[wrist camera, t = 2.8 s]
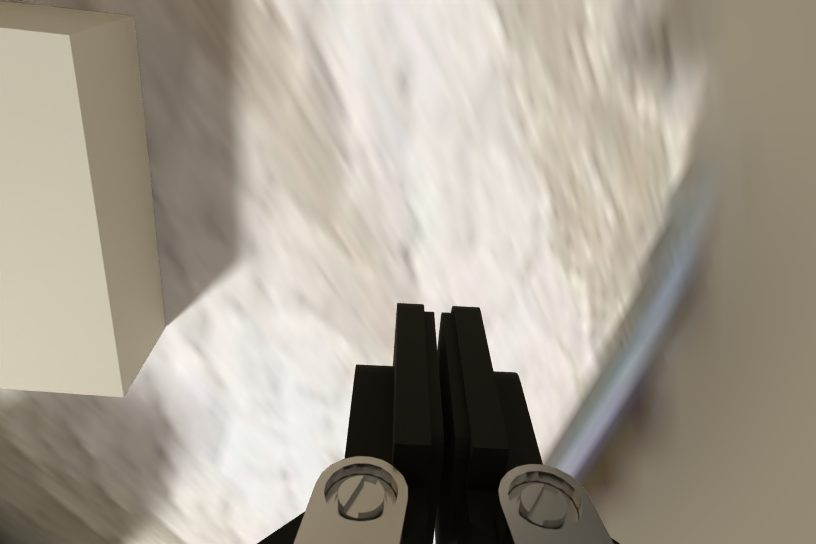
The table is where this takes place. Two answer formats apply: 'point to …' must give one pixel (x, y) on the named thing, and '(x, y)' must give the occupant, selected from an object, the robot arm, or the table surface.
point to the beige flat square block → (74, 204)
